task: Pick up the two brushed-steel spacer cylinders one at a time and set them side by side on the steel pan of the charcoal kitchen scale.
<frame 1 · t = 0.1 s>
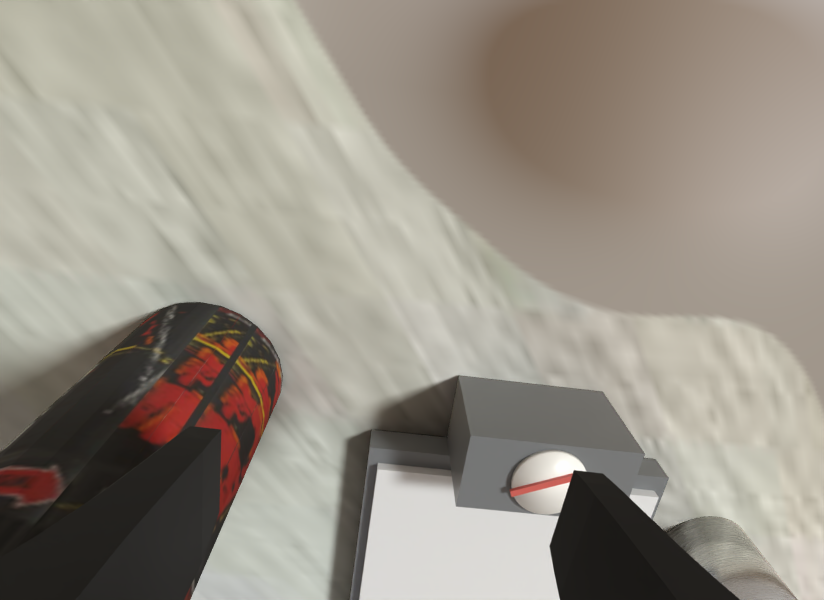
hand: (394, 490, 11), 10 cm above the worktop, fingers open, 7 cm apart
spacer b: (700, 552, 25), on the worktop
deodorant: (209, 368, 21), on the worktop, touching gripper
scale: (491, 542, 24), on the worktop
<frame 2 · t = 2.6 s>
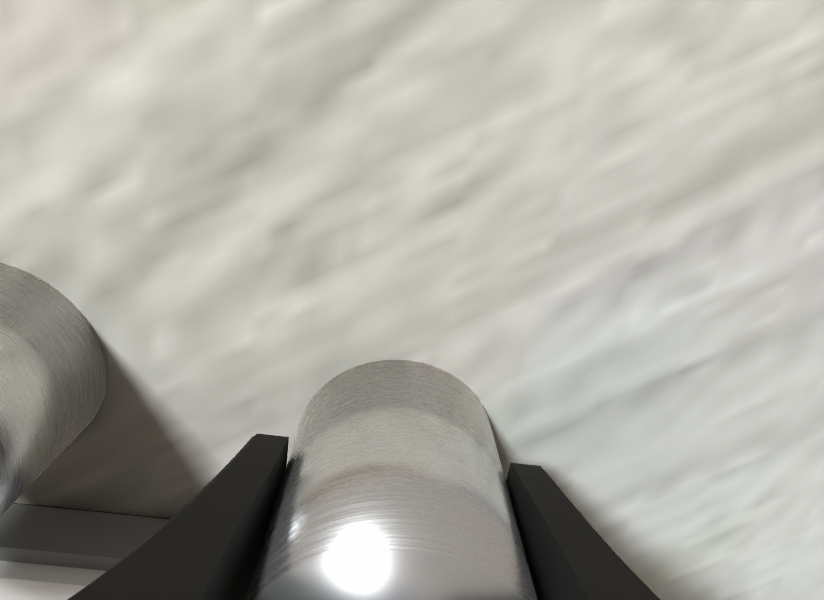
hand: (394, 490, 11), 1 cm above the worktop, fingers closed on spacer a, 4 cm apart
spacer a: (395, 446, 12), on the worktop, touching gripper
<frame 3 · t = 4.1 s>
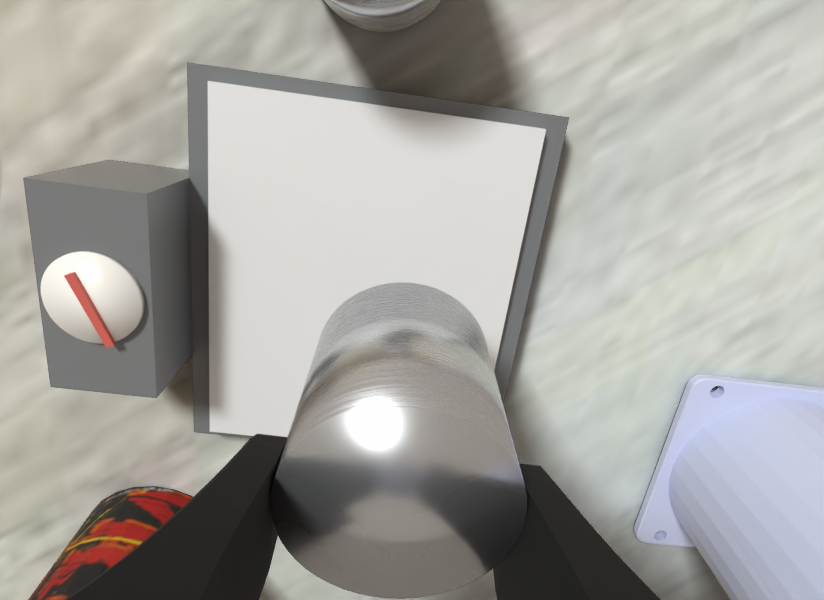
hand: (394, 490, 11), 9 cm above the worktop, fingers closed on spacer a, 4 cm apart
deodorant: (160, 538, 23), on the worktop
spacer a: (402, 360, 14), point 5 cm above the worktop, touching gripper
scale: (363, 280, 18), on the worktop
when the fingers open (4 cm above the worktop, at t = 5.6 s): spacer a stays where it is, resting on scale.
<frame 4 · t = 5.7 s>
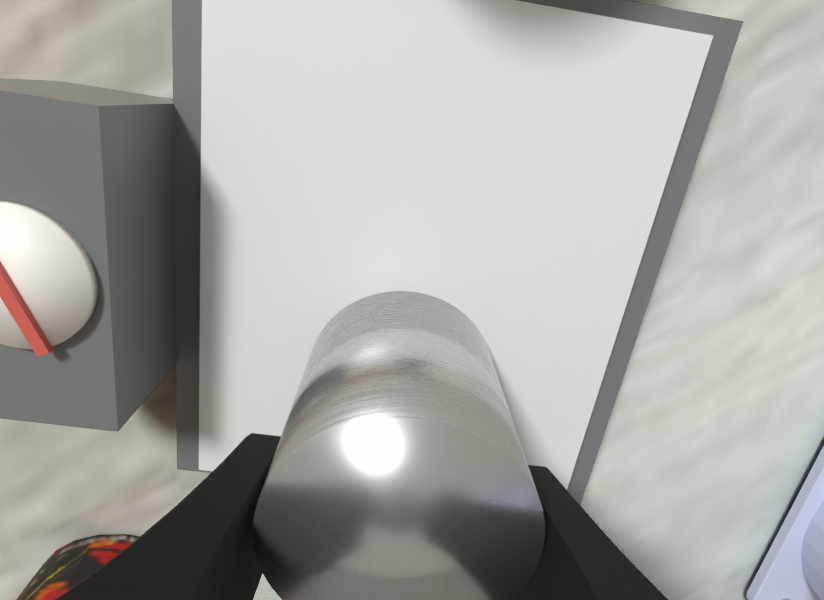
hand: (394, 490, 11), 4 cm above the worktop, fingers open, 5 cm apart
deodorant: (133, 597, 17), on the worktop
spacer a: (400, 376, 13), point 2 cm above the worktop, touching scale
scale: (416, 263, 13), on the worktop
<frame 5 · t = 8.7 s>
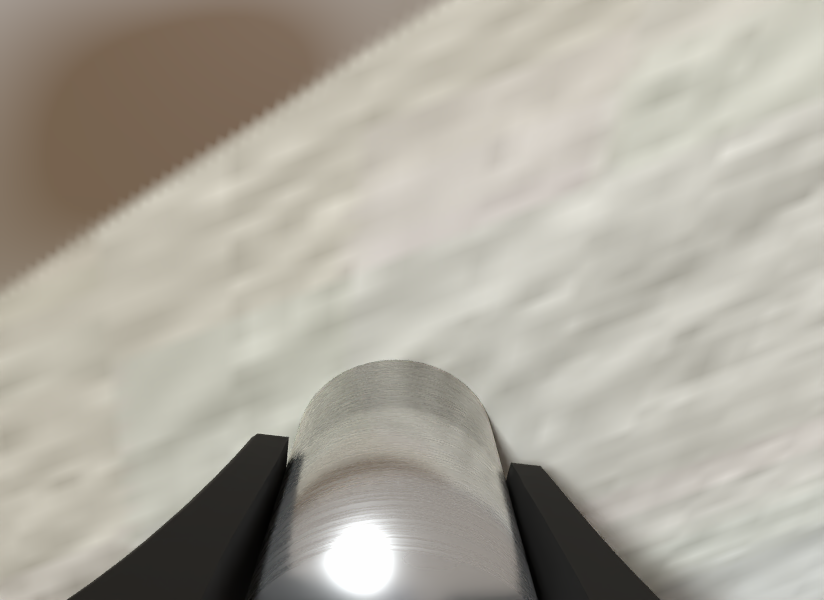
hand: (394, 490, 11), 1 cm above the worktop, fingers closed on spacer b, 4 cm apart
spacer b: (395, 446, 12), on the worktop, touching gripper
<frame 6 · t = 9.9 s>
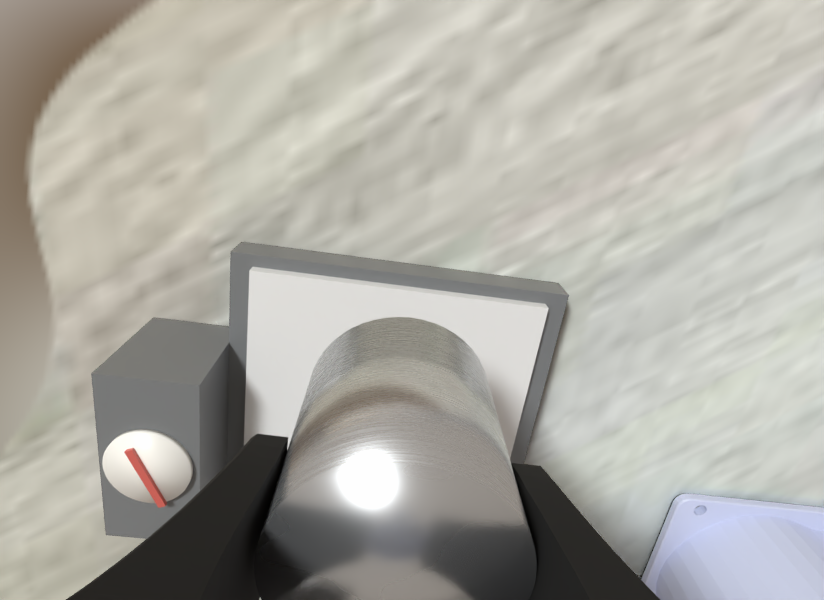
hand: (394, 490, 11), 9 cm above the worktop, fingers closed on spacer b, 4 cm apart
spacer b: (399, 398, 13), point 6 cm above the worktop, touching gripper
scale: (381, 415, 20), on the worktop
when the fingers open (4 cm above the worktop, at t = 11.3 s): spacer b stays where it is, resting on scale.
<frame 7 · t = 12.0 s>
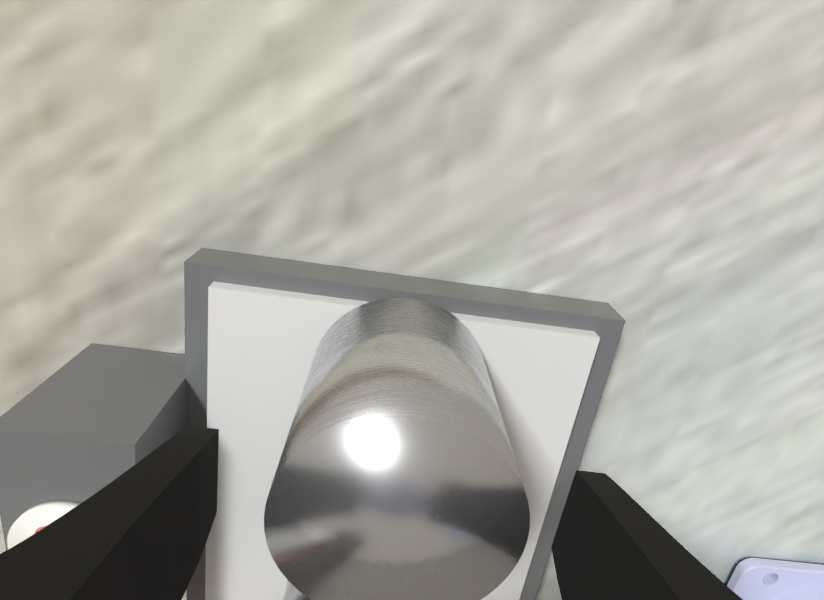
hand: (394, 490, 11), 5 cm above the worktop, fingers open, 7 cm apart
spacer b: (398, 378, 13), point 2 cm above the worktop, touching scale
scale: (381, 463, 16), on the worktop
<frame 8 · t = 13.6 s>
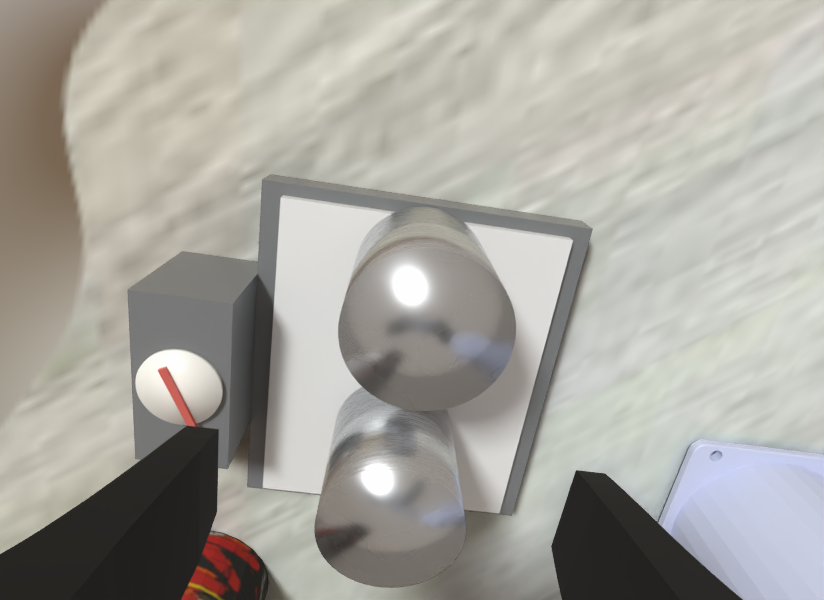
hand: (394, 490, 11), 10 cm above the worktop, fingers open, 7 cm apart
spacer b: (420, 272, 18), point 2 cm above the worktop, touching scale
deodorant: (206, 574, 25), on the worktop
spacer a: (393, 429, 20), point 2 cm above the worktop, touching scale
scale: (403, 355, 20), on the worktop
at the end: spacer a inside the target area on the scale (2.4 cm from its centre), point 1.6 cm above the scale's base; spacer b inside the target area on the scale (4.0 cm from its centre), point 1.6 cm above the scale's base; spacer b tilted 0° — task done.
